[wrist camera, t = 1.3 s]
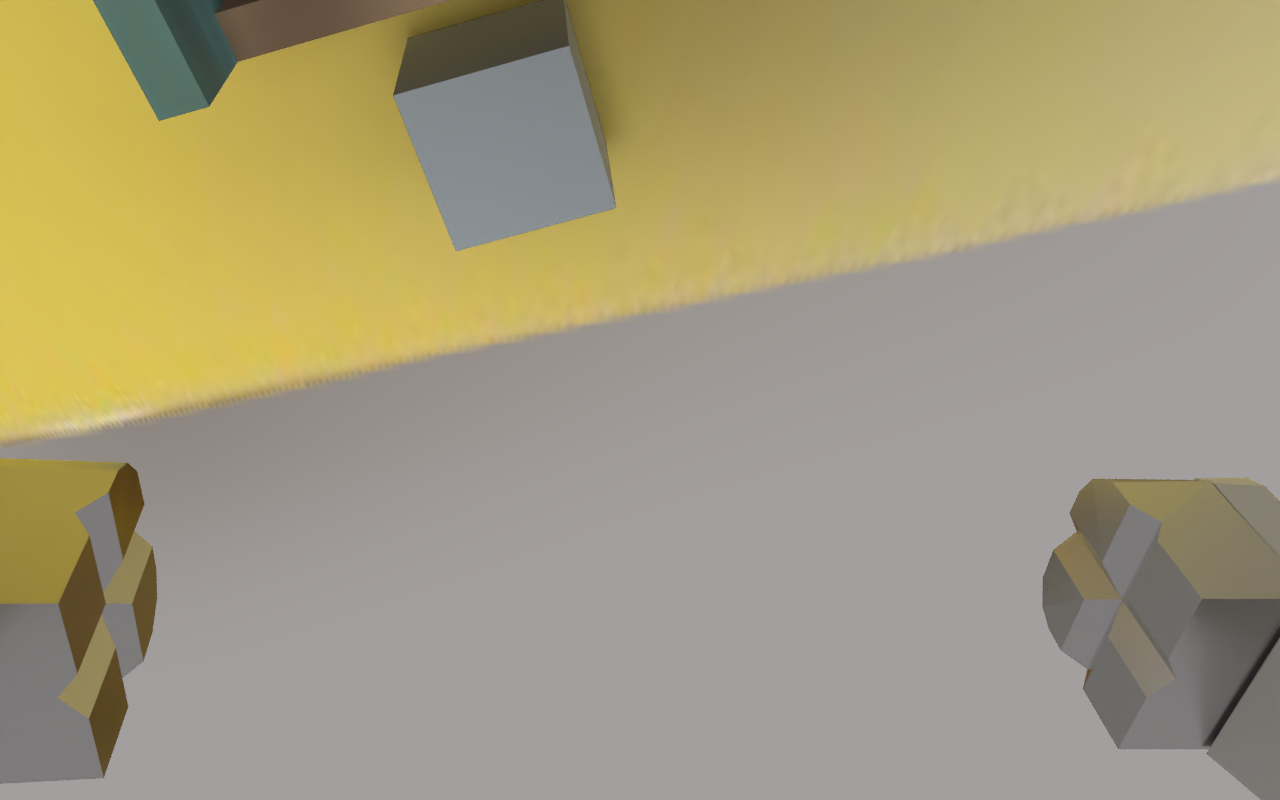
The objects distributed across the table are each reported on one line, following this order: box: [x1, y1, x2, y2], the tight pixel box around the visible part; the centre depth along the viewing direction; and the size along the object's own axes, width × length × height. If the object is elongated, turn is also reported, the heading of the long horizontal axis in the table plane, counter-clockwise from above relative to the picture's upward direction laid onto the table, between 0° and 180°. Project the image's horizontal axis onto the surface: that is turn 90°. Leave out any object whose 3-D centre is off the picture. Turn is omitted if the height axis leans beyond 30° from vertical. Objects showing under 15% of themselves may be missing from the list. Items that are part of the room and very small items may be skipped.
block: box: [393, 0, 616, 251], centre depth 33 cm, size 5×5×5 cm
